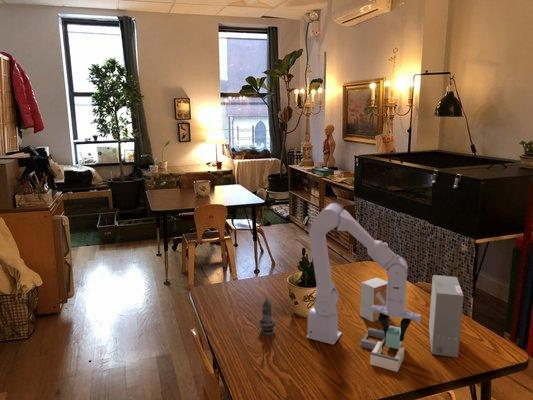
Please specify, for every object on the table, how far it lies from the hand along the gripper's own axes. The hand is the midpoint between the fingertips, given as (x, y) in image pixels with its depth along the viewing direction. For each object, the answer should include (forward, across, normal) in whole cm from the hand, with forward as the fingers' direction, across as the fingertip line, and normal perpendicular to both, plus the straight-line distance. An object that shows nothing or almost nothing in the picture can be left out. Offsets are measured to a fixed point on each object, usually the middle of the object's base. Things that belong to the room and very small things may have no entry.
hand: (394, 338), depth 132 cm
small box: (+3, +11, -18) cm, 21 cm away
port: (+3, 0, +8) cm, 8 cm away
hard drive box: (+3, -13, -10) cm, 16 cm away
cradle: (+3, +6, 0) cm, 7 cm away
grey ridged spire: (+3, +40, +10) cm, 41 cm away
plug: (+2, 0, 0) cm, 2 cm away
